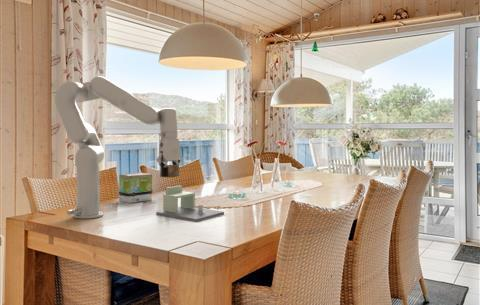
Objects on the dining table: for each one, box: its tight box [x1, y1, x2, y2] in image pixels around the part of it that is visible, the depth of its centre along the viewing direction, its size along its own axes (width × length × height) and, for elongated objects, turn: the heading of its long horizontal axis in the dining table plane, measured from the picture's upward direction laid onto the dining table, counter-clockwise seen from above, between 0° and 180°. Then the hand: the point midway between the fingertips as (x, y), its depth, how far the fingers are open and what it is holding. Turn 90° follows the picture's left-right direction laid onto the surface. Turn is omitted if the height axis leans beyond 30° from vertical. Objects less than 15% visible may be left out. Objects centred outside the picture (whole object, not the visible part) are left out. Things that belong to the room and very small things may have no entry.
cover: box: [162, 185, 196, 213], centre depth 195 cm, size 13×8×10 cm, turn 146°
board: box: [155, 203, 225, 223], centre depth 191 cm, size 20×24×5 cm
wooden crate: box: [159, 164, 180, 179], centre depth 186 cm, size 6×6×5 cm
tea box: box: [118, 172, 153, 204], centre depth 224 cm, size 15×10×15 cm
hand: (169, 175), depth 186 cm, fingers closed on wooden crate, 6 cm apart
